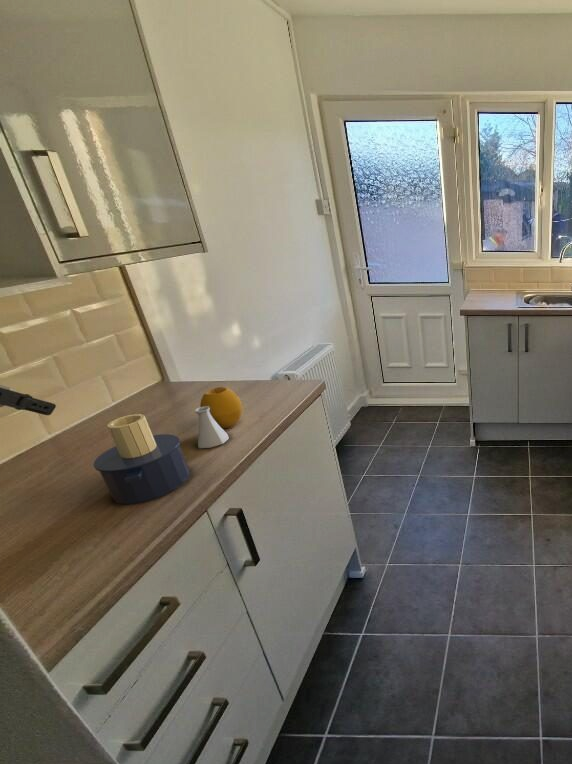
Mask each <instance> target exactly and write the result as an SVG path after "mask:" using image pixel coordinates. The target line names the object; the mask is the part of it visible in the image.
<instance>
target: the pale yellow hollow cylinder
mask: <svg viewBox="0 0 572 764" xmlns="http://www.w3.org/2000/svg"><path fill="white" fill-rule="evenodd" d="M106 427H107V429H108V432H109V434H110V436H111V439H112V440H113V443H114V444H115V446H116V447H117V449H118V451H119V453H120V456H121V457H123V458H135V457H139V456H142V455H145V454H147V453H150V452H151V451H153V450H154V449H155V448H156V446H157V445H156V442H155V440H154V437H153V435H154V434H153V433H152V430H151V428H150V425H149V423H148V421H147V418H146V416H145V415H144V414H141V413H139V414H138V413H135V414H128V415H125V416H121V417H118V418H116V419H113V420H112V421H109V423H107V424H106Z"/></svg>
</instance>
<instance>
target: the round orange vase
mask: <svg viewBox="0 0 572 764" xmlns="http://www.w3.org/2000/svg"><path fill="white" fill-rule="evenodd" d="M199 406H200V407H203V406H209V408H210V410H209V412H210V414H211V416H212V417H213V419H214V420H215V421H216V422H217V424H218V425H219V426H220V427H221V428H222V429H229V428H232V427H233V426H235V425H236V424H238V422H239V420H240V419H241V416H242V413H243V404H242V401H241V399H240V398H239V396H238V395H237V394H236V393H235V392H234V391H233V390H231V389H229V388H228V387H223V386H218V387H215V388H211V389H210V390H208V391H206V392H204V394H203V395H202V397H201V399H200V403H199Z"/></svg>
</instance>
